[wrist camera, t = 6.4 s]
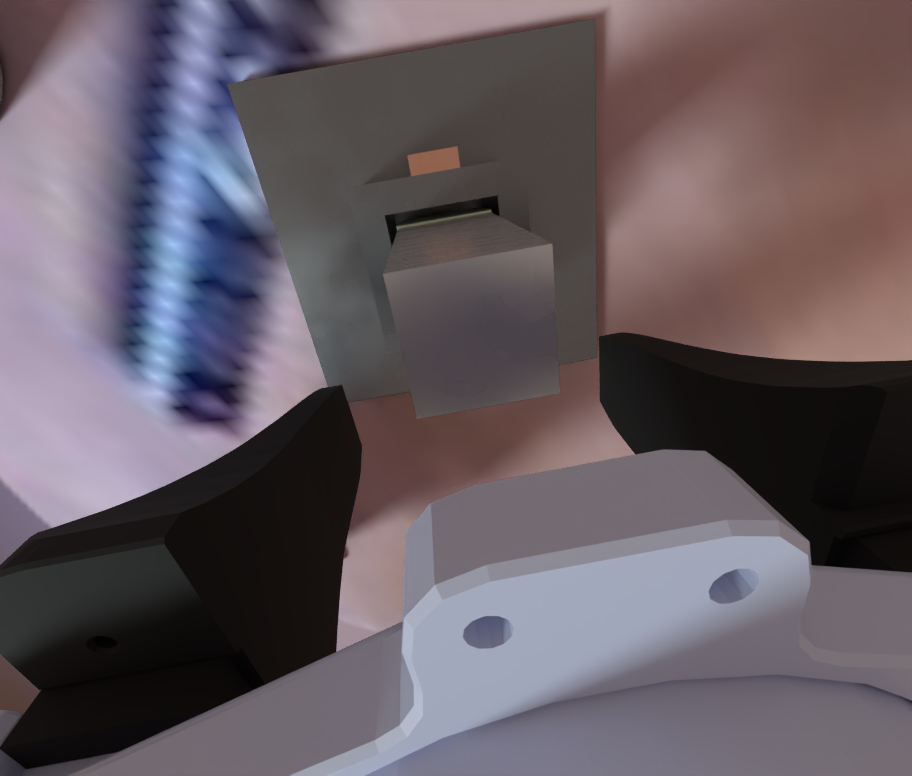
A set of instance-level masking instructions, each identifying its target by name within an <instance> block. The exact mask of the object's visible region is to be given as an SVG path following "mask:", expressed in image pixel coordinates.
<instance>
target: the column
mask: <svg viewBox="0 0 912 776" xmlns="http://www.w3.org/2000/svg"><path fill="white" fill-rule="evenodd" d="M383 277H384V281H385V285H386V289H387V294H388V298H389V302H390V306H391V311H392V315H393V319H394V323H395V328H396V332H397V336H398V340H399V345H400V349H401V353H402V358H403V362H404V366H405V370H406V375H407V379H408V383H409V387H410V392H411V396H412V400H413V404H414V409H415V413H416V417H417V419H421V418H427V417H432V416H438V415H443V414H449V413H455V412H460V411H466V410H471V409H477V408H482V407H488V406H494V405H499V404H505V403H510V402H516V401H521V400H527V399H533V398H538V397H544V396H549V395H555V394H560V380H559V361H558V342H557V323H556V304H555V284H554V265H553V246H552V243H550V242H548V241H546V240H544V239H542V238H540V237H539V236H537V235H535V234H533V233H531V232H529V231H527V230H525V229H523V228H521V227H519V226H517V225H515V224H513V223H511V222H509V221H507V220H505V219H503V218H501V217H499V216H497V215H495V214H493V213H492V212H491V209H489V208H485V209H484V208H482V207H475V208H470V209H464V210H459V211H453V212H447V213H442V214H436V215H431V216H425V217H419V218H414V219H408V220H403V221H401V222H400V224H397V234H396V237H395V240H394V243H393V245H392V248H391V251H390V254H389V257H388V260H387V263H386V266H385V269H384V272H383Z"/></svg>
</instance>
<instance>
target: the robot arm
mask: <svg viewBox="0 0 912 776" xmlns="http://www.w3.org/2000/svg"><path fill="white" fill-rule="evenodd" d="M599 363H600V402H601V404H602V406H603V408H604V410H605V412H606V413H607V415H608V417H609V419H610V421H611V422H612V424H613V426H614V427H615V429H616V430H617V431H618V433H619V434H620V435H621V437H622V438H623V439H624V440H625V442H626V443H627V444H628V446H629V447H630V448H631V449H632V451H633V452H634V453H635V454H636V455H631V456H626V457H620V458H615V459H610V460H604V461H599V462H594V463H588V464H583V465H578V466H572V467H567V468H562V469H556V470H551V471H546V472H540V473H535V474H530V475H524V476H519V477H514V478H508V479H503V480H498V481H492V482H487V483H482V484H476V485H472V486H469V487H467V488H464V489H462V490H460V491H457V492H455V493H452V494H450V495H448V496H445V497H443V498H440V499H438V500H435V501H433V502H431V503H430V504H429V505H428V506H427V508H426V509H425V510H424V511H423V512H422V514H421V515H420V516H419V517H418V518H417V519H416V521H415V522H414V523H413V524H412V525H411V527H410V528H409V529H408V530H407V531H406V544H405V560H404V591H403V622H401V623H398V624H396V625H394V626H392V627H390V628H388V629H385V630H383V631H381V632H379V633H377V634H374V635H372V636H370V637H368V638H366V639H364V640H361V641H359V642H357V643H355V644H353V645H351V646H349V647H346V648H344V649H342V650H340V651H337V652H336V644H337V625H338V613H339V599H340V587H341V577H342V566H343V557H344V551H345V545H346V539H347V535H348V530H349V526H350V521H351V516H352V512H353V507H354V503H355V498H356V493H357V488H358V484H359V479H360V471H361V453H362V445H361V442H360V439H359V436H358V432H357V429H356V426H355V423H354V420H353V417H352V414H351V411H350V408H349V405H348V401H347V398H346V395H345V392H344V389H343V386H342V385H338V386H332V387H327V388H322V389H319V390H317V391H315V392H313V393H312V394H311V395H309V396H308V397H306V398H305V399H304V400H302V401H301V402H300V403H298V404H297V405H296V406H294V407H293V408H292V409H291V410H289V411H288V412H287V413H285V414H284V415H283V416H282V417H280V418H279V419H278V420H276V421H275V422H274V423H272V424H271V425H269V426H268V427H267V428H265V429H264V430H262V431H261V432H260V433H258V434H257V435H255V436H254V437H253V438H251V439H250V440H248V441H247V442H245V443H244V444H242V445H241V446H239V447H237V448H236V449H234V450H233V451H231V452H229V453H228V454H226V455H224V456H222V457H221V458H219V459H217V460H216V461H214V462H212V463H210V464H208V465H207V466H205V467H203V468H201V469H199V470H197V471H194V472H192V473H190V474H188V475H186V476H184V477H182V478H180V479H178V480H176V481H174V482H172V483H170V484H168V485H166V486H164V487H161V488H159V489H157V490H154V491H152V492H150V493H147V494H145V495H143V496H140V497H138V498H135V499H133V500H130V501H128V502H125V503H123V504H120V505H118V506H115V507H112V508H110V509H107V510H104V511H101V512H98V513H95V514H93V515H90V516H87V517H84V518H81V519H78V520H75V521H72V522H69V523H66V524H63V525H60V526H57V527H54V528H51V529H48V530H45V531H41V532H38V533H36V534H35V535H33V536H31V537H30V538H29V539H28V540H27V541H25V542H24V543H23V544H22V545H21V546H20V547H19V548H18V549H17V550H16V551H15V552H14V553H13V554H12V555H11V556H9V557H8V558H7V559H6V560H5V561H4V562H3V563H2V564H1V565H0V654H1V655H2V656H3V657H4V658H5V659H6V660H8V661H9V662H10V663H11V664H12V665H13V666H14V667H15V668H16V669H17V670H18V671H19V672H20V673H22V674H23V675H24V676H25V677H26V678H27V679H28V680H29V681H30V682H31V683H32V684H33V685H35V686H36V687H37V688H38V689H39V690H41V691H40V693H39V694H38V695H37V697H36V698H35V699H34V701H33V702H32V704H31V705H30V707H29V708H28V709H27V711H26V712H25V713H24V714H22V713H18V712H14V711H9V710H1V711H0V776H912V360H908V361H871V362H828V361H805V360H787V359H774V358H764V357H755V356H747V355H739V354H732V353H726V352H720V351H715V350H709V349H703V348H699V347H694V346H689V345H684V344H680V343H675V342H671V341H667V340H662V339H658V338H653V337H649V336H644V335H639V334H633V333H616V334H610V335H605V336H600V337H599Z"/></svg>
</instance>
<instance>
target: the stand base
mask: <svg viewBox="0 0 912 776" xmlns="http://www.w3.org/2000/svg"><path fill="white" fill-rule="evenodd" d="M227 85H228V88H229V91H230V94H231V97H232V100H233V103H234V106H235V109H236V112H237V115H238V118H239V121H240V124H241V127H242V130H243V133H244V136H245V139H246V142H247V145H248V148H249V151H250V154H251V157H252V160H253V163H254V166H255V169H256V172H257V175H258V178H259V181H260V184H261V187H262V190H263V193H264V196H265V199H266V202H267V205H268V208H269V211H270V214H271V217H272V220H273V223H274V226H275V229H276V232H277V235H278V238H279V241H280V244H281V247H282V250H283V253H284V256H285V259H286V262H287V265H288V268H289V271H290V274H291V277H292V280H293V283H294V286H295V289H296V292H297V295H298V298H299V301H300V304H301V307H302V310H303V313H304V316H305V319H306V322H307V325H308V328H309V331H310V334H311V337H312V340H313V343H314V346H315V349H316V352H317V355H318V358H319V361H320V364H321V367H322V370H323V373H324V376H325V379H326V382H327V385H328V387H332V386H338V385H342V386H343V389H344V392H345V395H346V398H347V401H348V403H349V402H354V401H360V400H365V399H371V398H377V397H382V396H388V395H393V394H399V393H404V392H410V387H409V383H408V379H407V375H406V370H405V366H404V362H403V358H402V353H401V349H400V345H399V340H398V336H397V332H396V328H395V323H394V319H393V315H392V311H391V306H390V302H389V298H388V294H387V289H386V285H385V281H384V277H383V272H384V269H385V266H386V263H387V260H388V257H389V254H390V251H391V248H392V245H393V243H394V240H395V237H396V234H397V224H400V222H401V221H403V220H408V219H414V218H419V217H425V216H431V215H436V214H442V213H447V212H453V211H459V210H464V209H470V208H475V207H482V208H484V209H485V208H489V209H491V212H492V213H493V214H495V215H497V216H499V217H501V218H503V219H505V220H507V221H509V222H511V223H513V224H515V225H517V226H519V227H521V228H523V229H525V230H527V231H529V232H531V233H533V234H535V235H537V236H539V237H540V238H542V239H544V240H546V241H548V242H550V243H552V246H553V265H554V284H555V304H556V323H557V342H558V361H559V365H560V364H566V363H572V362H577V361H583V360H588V359H594V358H597V267H596V118H595V19H591V20H585V21H580V22H574V23H569V24H563V25H557V26H552V27H546V28H540V29H535V30H529V31H523V32H518V33H512V34H507V35H501V36H495V37H490V38H484V39H478V40H473V41H467V42H462V43H456V44H450V45H445V46H439V47H433V48H428V49H422V50H417V51H411V52H405V53H400V54H394V55H388V56H383V57H377V58H372V59H366V60H360V61H355V62H349V63H343V64H338V65H332V66H326V67H321V68H315V69H310V70H304V71H298V72H293V73H287V74H281V75H276V76H270V77H265V78H259V79H253V80H248V81H242V82H236V83H231V84H227Z"/></svg>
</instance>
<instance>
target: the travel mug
mask: <svg viewBox="0 0 912 776" xmlns="http://www.w3.org/2000/svg"><path fill="white" fill-rule="evenodd" d="M2 91H3V76H2V70H1V64H0V103H1V99H2Z"/></svg>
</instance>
